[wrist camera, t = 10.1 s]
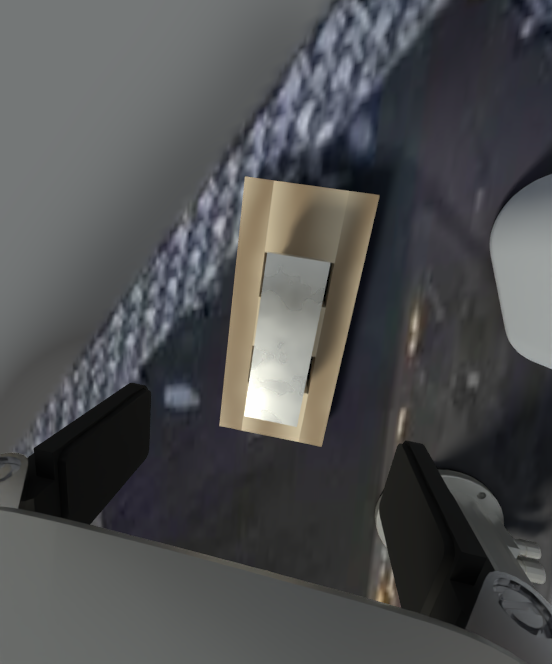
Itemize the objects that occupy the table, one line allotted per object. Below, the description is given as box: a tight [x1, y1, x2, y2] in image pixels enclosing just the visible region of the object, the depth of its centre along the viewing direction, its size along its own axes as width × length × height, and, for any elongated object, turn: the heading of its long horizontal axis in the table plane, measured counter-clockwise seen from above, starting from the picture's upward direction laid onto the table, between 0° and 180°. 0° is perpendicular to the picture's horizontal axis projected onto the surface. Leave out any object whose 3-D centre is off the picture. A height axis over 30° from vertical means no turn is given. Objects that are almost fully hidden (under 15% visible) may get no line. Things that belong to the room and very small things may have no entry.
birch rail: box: [220, 177, 380, 447], centre depth 26 cm, size 10×22×3 cm, turn 172°
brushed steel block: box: [244, 252, 330, 427], centre depth 24 cm, size 4×12×8 cm, turn 171°
